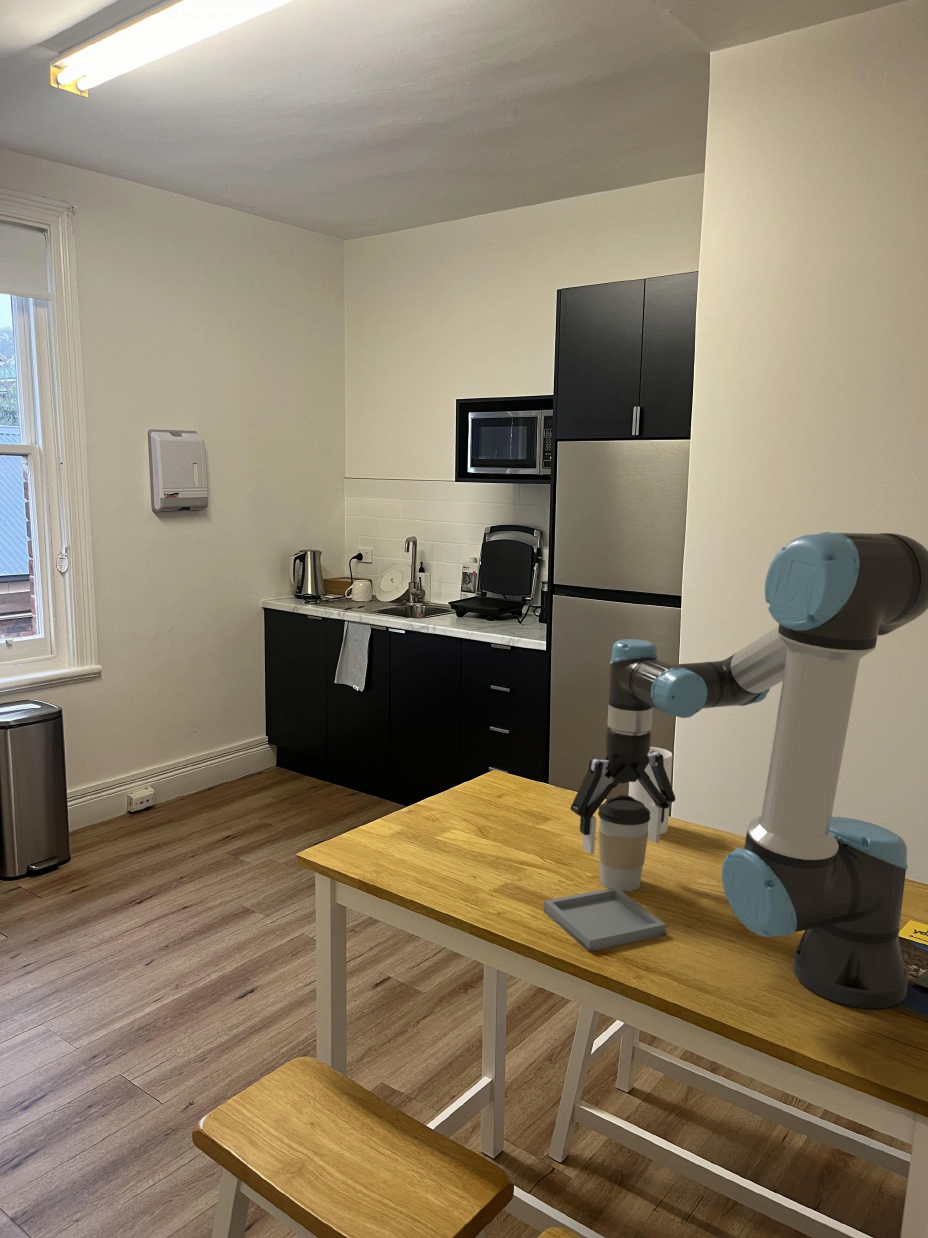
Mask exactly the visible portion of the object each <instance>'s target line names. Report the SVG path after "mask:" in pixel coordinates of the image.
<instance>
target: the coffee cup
mask: <svg viewBox="0 0 928 1238" xmlns="http://www.w3.org/2000/svg"><path fill="white" fill-rule="evenodd" d="M604 801H605V802H604V803H602V804H601V805H600V806H599V808H598V811H597V815H598V820H599V824H598V852H599V853H598V854H599V855H598V856H599V857H598V859H599V863H600V864H599V865H600V869H599V870H600V872H599V874H600V884H601V885H602V886H604V887H605V888H606V889H609V888H615V887H616V888H618V889H619V890H620V891H622V892H632V891H635V890H638V889H639V888H640V886H641V882H642V881H641V880H642V873H643V867H644V864H645V860H646V852H647V851H646V850H647V846H648V845H647V844H648V823H649V820H650V811H649V809H647V808H646V807H645V806H644V804H643V803H642V802H640V801H638V800H635V799H634V798H633V797H631V796H629V795H625V794H623V795H622V794H620V795H617V796H615V797H612V798H607V799H606V800H604Z"/></svg>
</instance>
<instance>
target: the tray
mask: <svg viewBox="0 0 928 1238" xmlns="http://www.w3.org/2000/svg"><path fill="white" fill-rule="evenodd" d="M543 912H544V913H545V914H546V915H547V916H549V918H551V919H552V920H553V921H554V922H555V923H556V924H557V925H558V926H560V927H561V928H562V929H563V930H564V931H565V932H566V933H568V934H569V936H571V937H572V938H573V939H574V940H575V941H576V942H577V943H578V944H579V945H581V947H583V948H584V949H585V950H586V951H587V952H589V953H590V952H595V951H599V950H603V949H607V948H608V949H609V948H612V947H613V948H614V947H618V946H622V945H626V944H631V943H635V942H640V941H644V940H649V939H653V938H654V939H655V938H659V937H662V936H666V930H667V929H666V928H667V924H666V923H665V922H663V921H662V920H661V919H660V918H659V917H657V916H656V915H654V914H653V913H651V912H650V911H649V910H648V909H646V908H644V907H643V906H642V905H641V904H639V903H638V902H637V901H635V899H632V898H631V897H630V896H629V895H627V894H626V893H625V892H624V891H620V890H619V889H618V888H616V887H615V888H605V889H601V890H600V889H599V890H594V891H589V892H584V893H579V894H574V895H568V896H567V895H566V896H562V897H558V898H550V899H546V900H544V901H543Z"/></svg>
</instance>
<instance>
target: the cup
mask: <svg viewBox="0 0 928 1238" xmlns="http://www.w3.org/2000/svg"><path fill="white" fill-rule="evenodd" d="M651 751H655V752H657V753H659V754H661V755H663V762H664V769H665V771H666V774H667V777H668V779H669V782H670V785H671V782H672V767H673V753H672V752H671V751H670V750H667V749H664V748H660V747H655V746H650V751H649V753H648V754H650V752H651ZM645 771H646V773H647V774H648V776H649V777H650V780H651V781H652V782H653V784H654V785H655V786H656V788H657V789H658V791H659V792H660V790H659V787H658V785H657V782H656V779H655V777H654V774H653V771H652V769H651V766H650V764H648V765H647V767H646V768H645ZM628 784H629V785H628V796H631V797H633V798H634V799H635V800H638V801H640V802H642V803H643V804H644V806H645V807H646V808H647V809H649V803H654V804H655V802H654V801H653V800H652V798H651V797H650V796H649V794H648V793H647V792H646V790H645V789H644V788H643V786H642V785H641V784H640V782H639V781H638V780H636V782H629V783H628ZM660 793H661V792H660ZM669 813H670V806H669V807H668V808H667V809H666V808H665V813H664V821H663V823H661V828H660V835H662V834H666V833H667V832H668V830H669V829H668V827H669Z"/></svg>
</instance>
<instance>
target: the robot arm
mask: <svg viewBox="0 0 928 1238" xmlns="http://www.w3.org/2000/svg"><path fill="white" fill-rule="evenodd" d="M765 576H766V577H765V581H764V599H765V602H766V604H767V603H768V604H769V605H768V607H767V610H768V612H769V614H770V615H771V617H772V618H773V620H775V622H776V623H778V624H779V625H777V627H775V628H774V629H772V630H770V631H769V632H767V633H766V634H764V635H762V636H760V637H759V638H757V639H756V640H754V641H753V642H751V643H749V644H748V645H747V646H745V647H743V648H741V649H740V650H738V651H737V652H735V653H734V654H732V655H730V656H728V657H727V658H725V659H723V660H719V661H718V660H716V661H705V662H693V663H691V662H690V663H667V662H664V661H661V660H660V659H658V654H657V653H658V651H657V646H656V644H655V643H654V642H652V641H649V640H645V639H644V640H643V639H637V638H636V639H635V638H634V639H631V638H630V639H629V638H628V639H619V640H617V641H615V642H614V643H613V645H612V650H611V659H610V662H609V685H608V690H609V691H608V706H607V707H608V709H607V725H606V726H607V727H608V729H606V737H605V738H606V739H605V750H606V756H605V758H604V759H597V758H595V757H591V758H590V759H589V762H588V768H587V769H588V770H587V772H586V774H585V777H584V778H583V781H582V783H581V784H580V786H579V789H578V791H577V793H576V796H575V798H574V799H573V801H572V804H571V805H570V811H572V812H573V813H574V814H576V815H577V816H579V818H580V821H579V832H580V834H582V844H581V845H582V847H581V848H582V849H583V850H584V851H585V852H586V853H588V854H589V855H595V849H596V847H595V845H596V832H597V831H596V829H597V817H596V816H594V814H596V812H597V811H598V810H599V806H600V805H602V804H603V802H604V801H606V800H605V799H606V798H607V797H608V796H609V794H610V793H611V791H612V790H613V789H615V788H616V787H618V785H619V784H621V785H622V784H625V783H628V782H636V780H638V781H639V782H640V784H641V785H642V786H643V788H644V789H645V790H646V792H647V793H648V794H649V796H650V797H651V798H652V800H653V801H654V802H655V804H654V803H649V811H650V820H649V823H648V838H647V840H650V841H651V842H653V843H654V844H660V841H661V840H660V838H661V834H660V828H661V823H663V821H664V813H665V808H666V809H667V808H668V807H669V808H670V803H674V802H676V796H675V793H674V791H673V790H674V789H673V788H672V785H671V784H670V782H669V779H668V777H667V774H666V771H665V769H664V762H663V755H661V754H659V753H657V752H655V751H651V752H650V754H648V753H649V751H650V747H651V739H652V738H651V737H652V735H651V732H650V730H652V727H653V712H654V711H653V710H654V709H656V710H658V711H660V712H662V713H663V714H667V715H668V716H673V717H677V718H682V719H686V718H687V719H688V718H691V717H693V716H694V715H696V714H697V713H698V712H701V711H702V709H711V708H721V707H723V708H724V707H735V706H738V707H742V706H743V707H744V706H749V705H751V704H757V703H760V702H762V701H763V700H765V699H766V698H767V695H768V693H769V692H770V689H771V688H773V687H774V686H776V685H778V684H780V683H782V684H781V690H780V697H779V703H778V708H777V709H778V710H777V715H776V720H775V721H776V723H775V729H774V733H773V741H772V747H771V753H770V760H769V764H768V765H769V766H768V772H767V777H766V778H767V779H766V785H765V791H764V798H763V804H762V810H761V815H759V816H757V817H756V818H754V819H753V820H750V822H749V823H748V825H747V828H746V835H745V842H744V847H743V848H740V847H739V848H738V847H737V848H735V849H734V850H733V851H732V852H730V853H729V854H727V855H726V857H725V858H724V859H723V862H722V867H721V880H722V881H721V882H722V887H723V892H724V895H725V897H726V900H727V901H728V903H729V906H730V909H731V910H732V912H733V913H734V915H735V916H736V918H737V919H738V920H739V921H740V923H741V924H742V925H743V926H745V927H746V928H747V929H748V930H749V931H751V932H752V933H754V934H755V935H757V936H760V937H766V938H767V937H768V938H771V937H777V936H785V937H786V936H787V937H788V936H790V935H792V934H794V933H797V932H802V931H804V932H803V934H802V936H801V938H800V941H799V942H798V943H799V944H798V945H797V946H796V948H795V951H794V955H793V968H792V969H793V973H794V975H795V977H796V979H797V980H798V981H799V982H800V983H801V984H802V985H803V986H804V987H806V988H807V989H808V990H810V991H811V992H813V993H815V994H817V995H819V996H821V997H823V998H825V999H827V1000H830V1001H832V1002H834V1003H838V1004H842V1005H844V1006H845V1005H846V1006H848V1007H855V1008H861V1009H874V1010H875V1009H886V1008H891V1007H894V1006H897V1005H899V1004H901V1003H902V1002H903V1001H904V1000H905V998H906V997H907V994H908V993H907V992H908V984H909V983H908V982H909V978H908V973H907V970H906V968H905V965H904V960H903V956H902V950H901V945H900V940H899V937H900V936H899V935H900V926H901V916H902V910H903V909H902V908H903V900H904V892H905V891H904V890H905V882H906V875H907V873H906V872H907V870H908V864H907V861H908V859H907V858H908V857H907V856H908V847H907V845H906V841H904V839H903V838H902V837H901V836H900V835H899V834H897V833H895V832H894V831H891V830H889V829H888V828H886V827H883V826H880V825H877V824H874V823H870V822H867V821H865V820H860V819H856V818H850V817H844V816H833V810H834V805H835V804H834V803H835V799H836V793H837V787H838V783H839V778H840V777H839V776H840V771H841V766H842V760H843V753H844V750H845V749H844V748H845V743H846V739H847V738H846V737H847V732H848V728H849V727H848V726H849V723H850V722H849V721H850V717H851V711H852V705H853V698H854V693H855V688H856V682H857V677H858V671H859V666H860V661H861V659H862V658H863V657H865V656H866V655H868V654H869V653H871V652H873V651H874V650H876V647H877V646H876V645H877V642H878V641H877V640H878V637H881V636H885V635H888V634H890V633H892V632H893V631H895V630H898V629H899V628H901V627H904V626H905V625H907V624H909V623H911V622H912V621H915V620H916V619H917V618H919V617H921V616H922V615H923V614H924V613H926V612H927V610H928V549H927V548H926V547H925V546H924V545H923V544H921V543H920V542H919V541H917V540H915V539H914V538H911V537H909V536H908V535H903V534H898V533H889V532H887V533H885V532H884V533H882V532H881V533H861V532H860V533H858V532H857V533H856V532H855V533H854V532H853V533H852V532H851V533H850V532H830V531H825V532H820V533H816V534H814V533H813V534H806V535H801V536H799V537H795V538H794V539H792V540H790V541H789V542H788V543H787V544H786V545H785V546H783V547H782V548H780V550H778V552H777V553H776V555H775V556H774V557H773V559H772V561H771V562H770V565H769V567H768V570H767V573H766V575H765ZM653 708H654V709H653ZM648 764H650V766H651V769H652V771H653V774H654V777H655V779H656V782H657V785H658V787H659V790H660V792H661V793H660V792H659V791H658V789H657V788H656V786H655V785H654V784H653V782H652V781H651V780H650V777H649V776H648V774H647V773H646V771H645V768H646V767H647V765H648ZM610 777H611V778H612V779H611V778H610Z"/></svg>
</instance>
